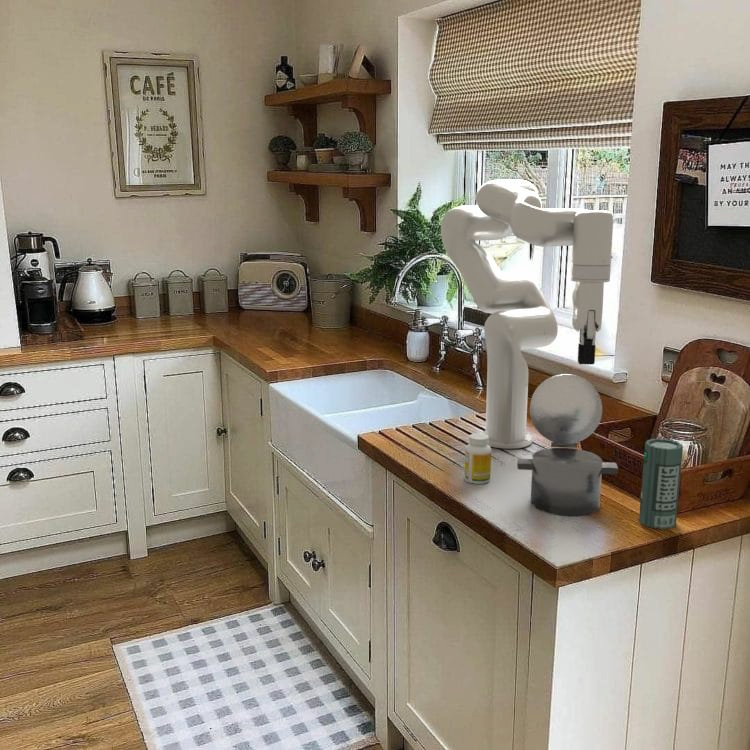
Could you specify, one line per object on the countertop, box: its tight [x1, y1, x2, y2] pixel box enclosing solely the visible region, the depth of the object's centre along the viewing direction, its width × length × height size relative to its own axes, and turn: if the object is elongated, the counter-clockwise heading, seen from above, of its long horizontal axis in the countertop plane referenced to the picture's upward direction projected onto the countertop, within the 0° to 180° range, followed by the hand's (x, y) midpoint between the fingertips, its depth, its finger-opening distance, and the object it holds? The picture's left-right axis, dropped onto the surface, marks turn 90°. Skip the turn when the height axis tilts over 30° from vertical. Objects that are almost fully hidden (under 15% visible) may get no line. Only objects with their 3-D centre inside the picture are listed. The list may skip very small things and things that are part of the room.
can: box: [638, 438, 684, 530], centre depth 149 cm, size 6×6×15 cm
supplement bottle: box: [464, 432, 492, 485], centre depth 170 cm, size 5×5×10 cm
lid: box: [529, 373, 603, 449], centre depth 165 cm, size 15×14×2 cm
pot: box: [516, 447, 619, 517], centre depth 158 cm, size 13×19×9 cm
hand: (586, 363), depth 168 cm, fingers closed
